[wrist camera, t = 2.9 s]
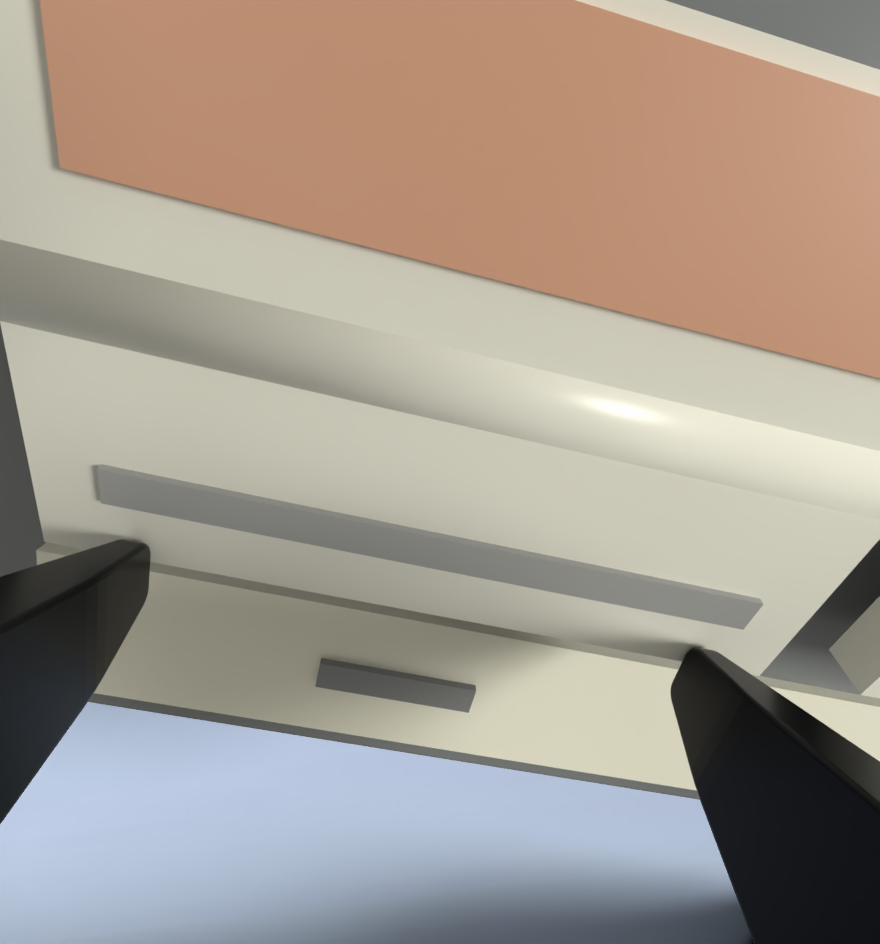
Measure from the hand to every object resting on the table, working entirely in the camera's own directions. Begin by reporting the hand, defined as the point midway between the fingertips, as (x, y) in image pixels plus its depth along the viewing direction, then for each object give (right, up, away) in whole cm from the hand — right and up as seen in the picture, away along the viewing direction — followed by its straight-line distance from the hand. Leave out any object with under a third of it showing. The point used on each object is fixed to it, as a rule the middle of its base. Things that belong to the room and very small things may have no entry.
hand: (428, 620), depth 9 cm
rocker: (+1, +4, -2) cm, 4 cm away
